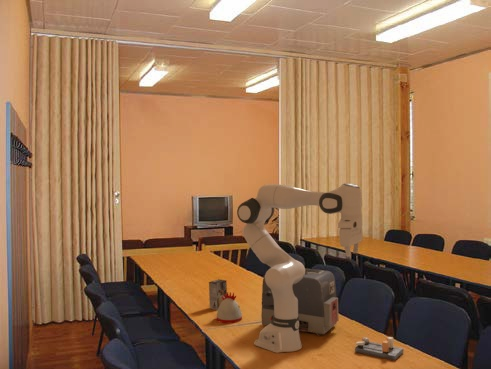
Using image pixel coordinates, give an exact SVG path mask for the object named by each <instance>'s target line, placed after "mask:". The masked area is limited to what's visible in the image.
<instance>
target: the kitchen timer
mask: <svg viewBox="0 0 491 369" xmlns="http://www.w3.org/2000/svg"><path fill="white" fill-rule="evenodd" d="M224 296H225V298H224V297H223V296H222V298H223V301H222V302H221V304H220V306H219V308H218V310H217V312H216V321H217V322H219V323H223V324H234V323H239V322H241V321H242V320H243V315H242V310H241V306H240V305H239V303H238V302H237V301H236V298H237V295H235V292H232V293H231V292H228V291H227V296H226V294H224Z"/></svg>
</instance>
